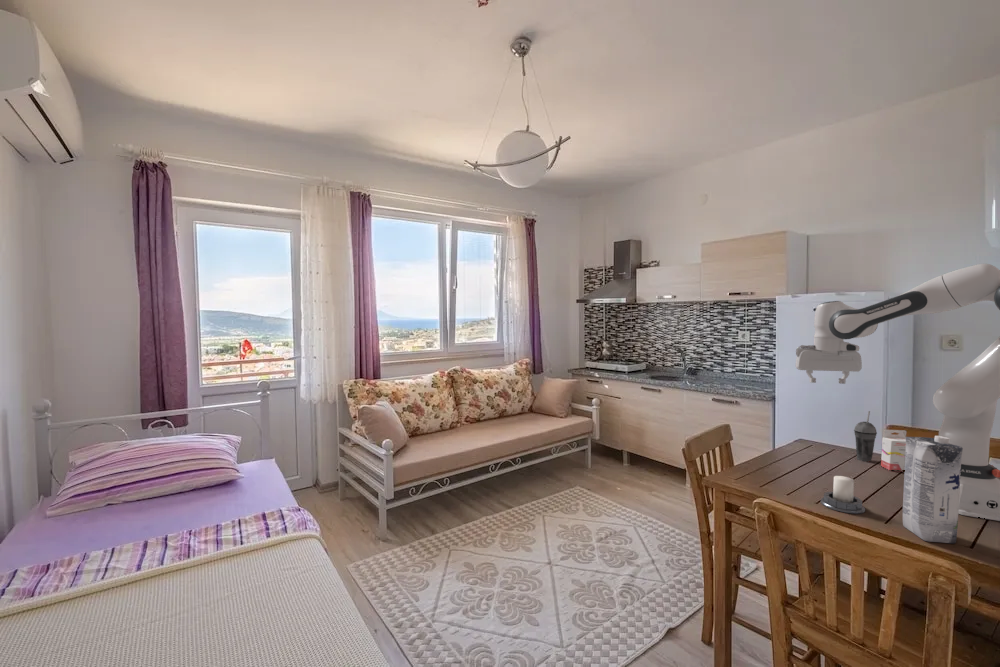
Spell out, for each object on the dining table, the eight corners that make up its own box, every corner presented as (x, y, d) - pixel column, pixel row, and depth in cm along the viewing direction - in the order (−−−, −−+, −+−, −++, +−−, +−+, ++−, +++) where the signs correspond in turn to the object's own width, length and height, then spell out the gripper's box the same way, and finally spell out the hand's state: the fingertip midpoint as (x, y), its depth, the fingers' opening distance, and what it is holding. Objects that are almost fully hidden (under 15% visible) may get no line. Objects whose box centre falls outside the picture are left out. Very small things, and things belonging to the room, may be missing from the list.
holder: (865, 505, 142) (865, 496, 142) (864, 517, 134) (864, 508, 133) (822, 495, 149) (822, 488, 149) (818, 507, 141) (819, 498, 140)
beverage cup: (848, 457, 189) (850, 409, 188) (866, 457, 188) (868, 409, 187) (861, 462, 181) (863, 412, 180) (880, 463, 181) (882, 413, 180)
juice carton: (922, 543, 119) (927, 440, 117) (896, 524, 129) (901, 430, 128) (963, 546, 117) (969, 442, 116) (933, 527, 127) (938, 432, 126)
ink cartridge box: (890, 471, 172) (891, 432, 171) (880, 466, 177) (882, 429, 176) (914, 472, 171) (916, 433, 170) (904, 467, 176) (906, 429, 175)
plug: (853, 503, 142) (854, 478, 141) (852, 509, 138) (853, 483, 137) (833, 499, 145) (834, 474, 144) (832, 504, 141) (833, 479, 140)
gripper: (799, 345, 167) (798, 383, 168) (864, 346, 162) (863, 385, 163) (793, 344, 173) (792, 380, 174) (855, 345, 168) (854, 382, 169)
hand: (827, 383), depth 168 cm, fingers open, 8 cm apart
